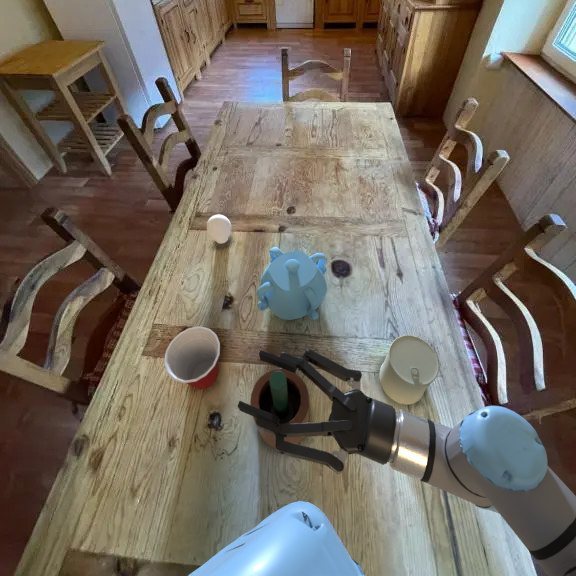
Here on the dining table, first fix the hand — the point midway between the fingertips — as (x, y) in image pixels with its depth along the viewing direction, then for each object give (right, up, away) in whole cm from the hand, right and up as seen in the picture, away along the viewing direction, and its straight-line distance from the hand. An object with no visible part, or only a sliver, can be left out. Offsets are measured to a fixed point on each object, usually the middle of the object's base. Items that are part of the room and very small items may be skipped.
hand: (250, 379), depth 56 cm
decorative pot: (+8, +5, +31) cm, 32 cm away
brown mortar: (+5, -14, +11) cm, 19 cm away
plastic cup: (-12, -9, +18) cm, 23 cm away
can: (+30, -9, +16) cm, 35 cm away
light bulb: (-13, +16, +43) cm, 48 cm away
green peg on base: (+5, -13, +11) cm, 18 cm away
